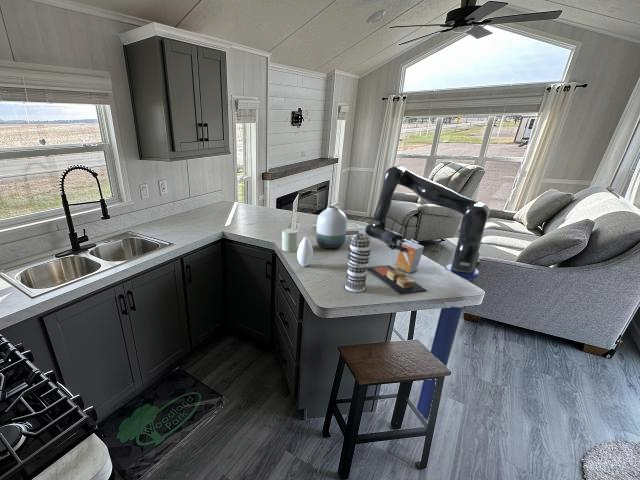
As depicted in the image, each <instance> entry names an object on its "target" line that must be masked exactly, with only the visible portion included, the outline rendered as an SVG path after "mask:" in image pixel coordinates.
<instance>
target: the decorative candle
mask: <svg viewBox="0 0 640 480" xmlns="http://www.w3.org/2000/svg"><path fill="white" fill-rule="evenodd" d="M350 240H351V241H350V244H349V246H348V248H347V249H348V252H347V264H348V268H347V272H346V275H345V289H346V290H348V291H350V292H354V293H361V292H364V291H365V289H366V283H367V281H366V280H367V275H368V274H367V268H368V265H369V262H370V261H369V260H370V256H371V251H372V250H371V249H370V244H371V240H372V237H370V236H368V235H367V234H366V233H365V232H357V233H354V234H353V235H352V236H350Z"/></svg>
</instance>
